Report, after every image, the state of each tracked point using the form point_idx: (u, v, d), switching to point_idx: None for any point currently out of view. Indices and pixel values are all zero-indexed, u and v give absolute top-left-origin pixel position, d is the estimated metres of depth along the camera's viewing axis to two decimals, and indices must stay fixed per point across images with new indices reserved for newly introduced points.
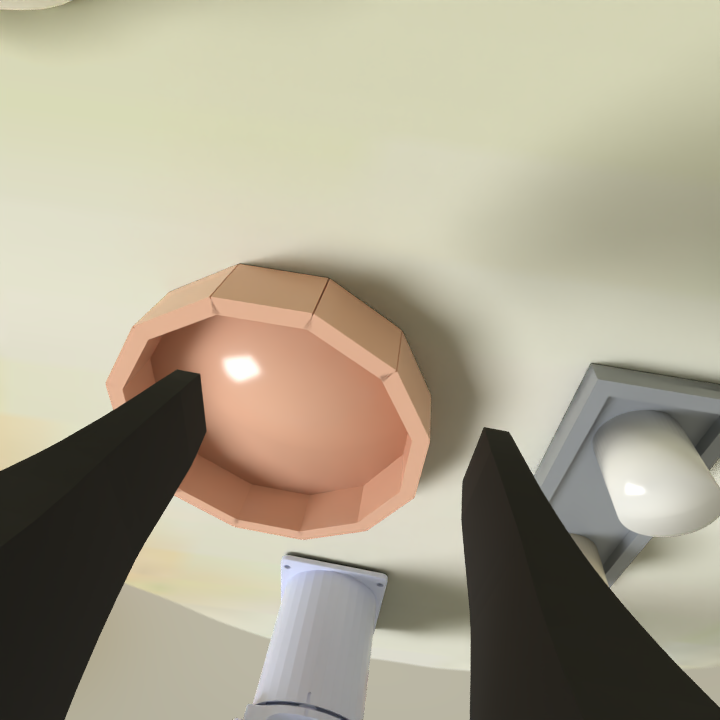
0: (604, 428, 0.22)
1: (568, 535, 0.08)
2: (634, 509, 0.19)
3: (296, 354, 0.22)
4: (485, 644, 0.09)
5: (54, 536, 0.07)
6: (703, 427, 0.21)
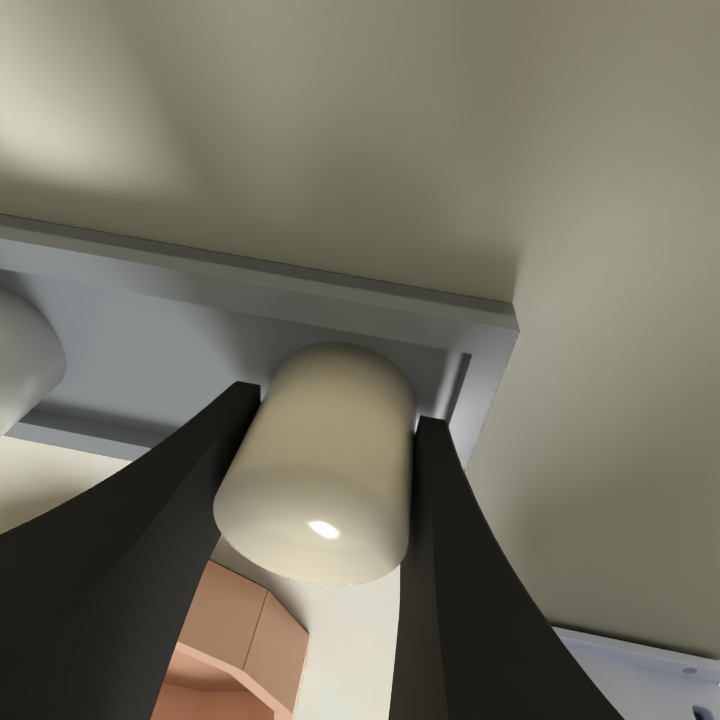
0: None
1: (481, 518, 0.08)
2: None
3: None
4: (404, 627, 0.09)
5: (149, 555, 0.07)
6: None
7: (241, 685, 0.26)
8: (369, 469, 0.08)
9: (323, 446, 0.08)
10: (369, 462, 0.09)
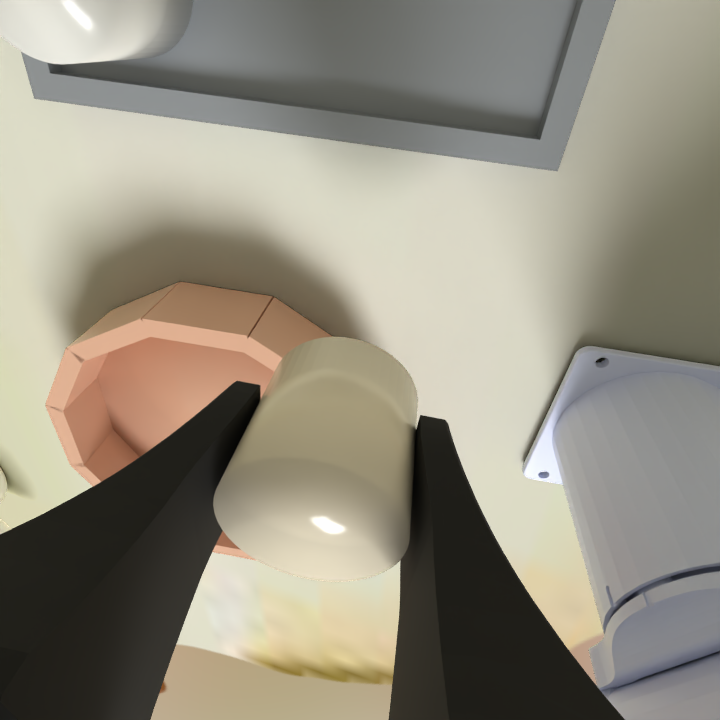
0: None
1: (481, 518, 0.08)
2: (62, 28, 0.11)
3: (162, 403, 0.24)
4: (405, 627, 0.09)
5: (148, 555, 0.07)
6: None
7: None
8: (373, 465, 0.08)
9: (327, 441, 0.08)
10: (373, 458, 0.09)
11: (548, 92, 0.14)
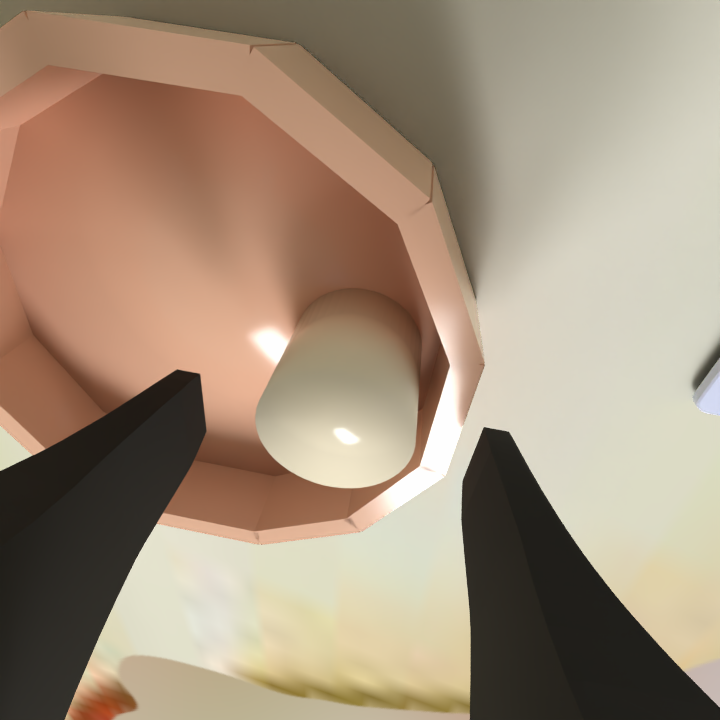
0: None
1: (568, 535, 0.08)
2: None
3: (105, 282, 0.14)
4: (485, 644, 0.09)
5: (54, 536, 0.07)
6: None
7: None
8: (388, 379, 0.10)
9: (352, 359, 0.10)
10: (388, 375, 0.11)
11: None
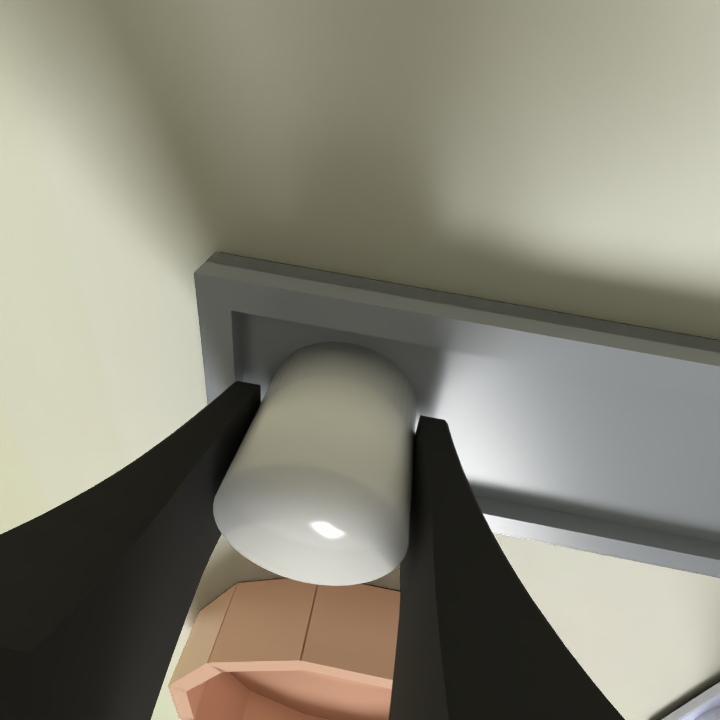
0: None
1: (481, 518, 0.08)
2: (325, 568, 0.10)
3: None
4: (405, 627, 0.09)
5: (148, 555, 0.07)
6: None
7: None
8: None
9: None
10: None
11: None
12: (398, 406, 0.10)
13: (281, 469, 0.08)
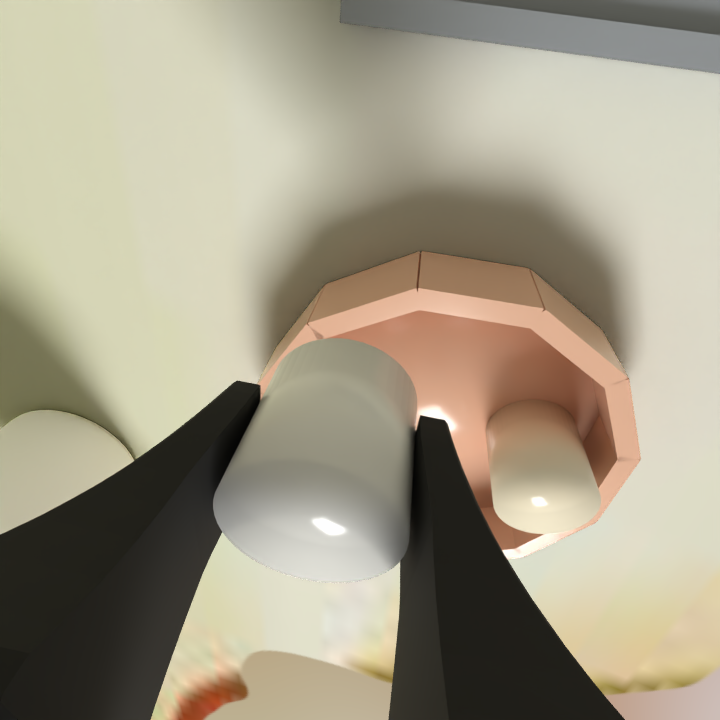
0: None
1: (481, 518, 0.08)
2: (325, 565, 0.10)
3: None
4: (404, 627, 0.09)
5: (148, 555, 0.07)
6: None
7: None
8: (586, 472, 0.17)
9: (565, 461, 0.17)
10: (585, 469, 0.17)
11: None
12: (400, 404, 0.10)
13: (283, 465, 0.08)
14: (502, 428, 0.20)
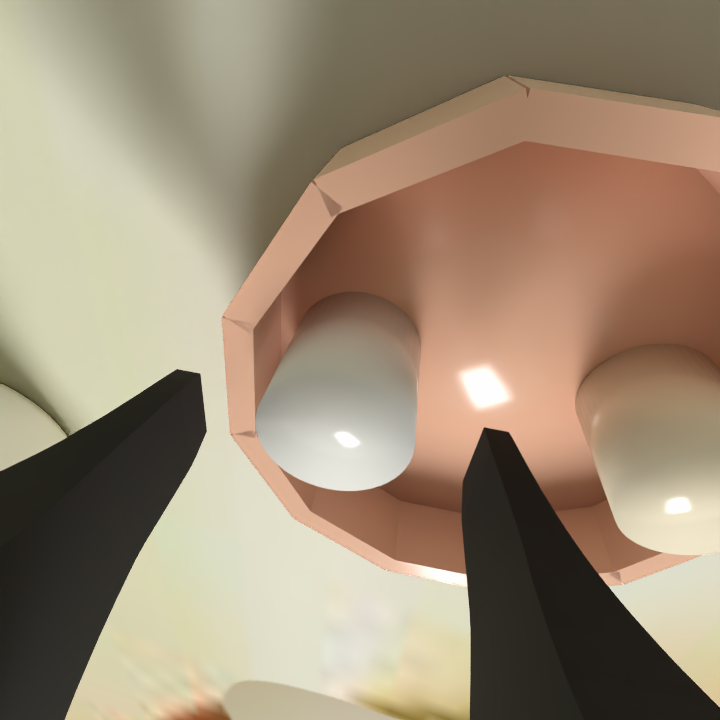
0: None
1: (568, 535, 0.08)
2: (345, 474, 0.12)
3: None
4: (485, 644, 0.09)
5: (54, 536, 0.07)
6: None
7: (577, 494, 0.17)
8: None
9: None
10: None
11: None
12: (407, 343, 0.12)
13: (315, 378, 0.10)
14: (616, 388, 0.12)
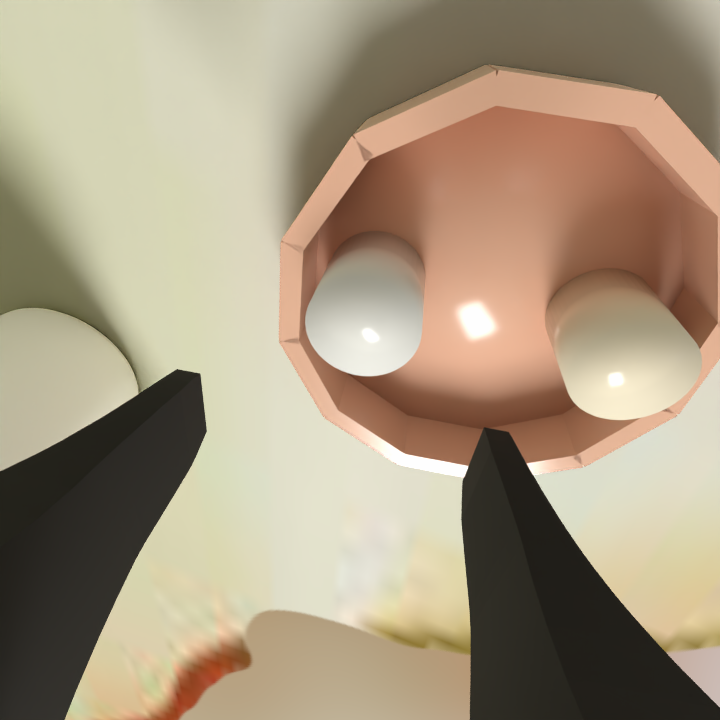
0: None
1: (568, 535, 0.08)
2: (370, 360, 0.16)
3: None
4: (485, 644, 0.09)
5: (54, 536, 0.07)
6: None
7: (549, 402, 0.21)
8: None
9: (659, 316, 0.14)
10: (683, 327, 0.14)
11: None
12: (415, 266, 0.17)
13: (351, 280, 0.14)
14: (571, 299, 0.17)
